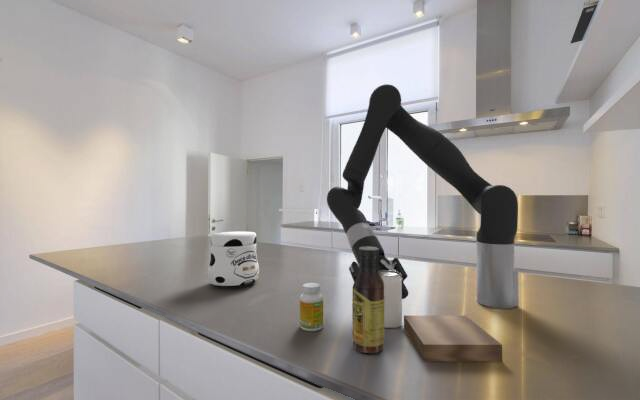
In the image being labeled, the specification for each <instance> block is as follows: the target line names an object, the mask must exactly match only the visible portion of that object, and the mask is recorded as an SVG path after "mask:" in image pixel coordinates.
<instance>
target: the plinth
mask: <svg viewBox="0 0 640 400" xmlns="http://www.w3.org/2000/svg"><path fill="white" fill-rule="evenodd" d="M403 330H404V332H405V333H406V334H407V336H408V337H409V339H410V342H412V344H413V346H414V347H415V349H416V351H417V352H418V354H419V355H420V357H421V359H422V360H423V362H491V361H501V362H502V363H503V344H502V343H500V341H499V340H497V339H496V338H495V337H493V336H492V335H491V334H490V333H488V332H487V331H486V330H484V328H482V327H481V326H480V325H478V324H477V323H476V322H474V321H473V320H472V319H471V318H470V317H469V316H467V315H403Z"/></svg>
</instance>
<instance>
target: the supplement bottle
mask: <svg viewBox="0 0 640 400" xmlns="http://www.w3.org/2000/svg"><path fill="white" fill-rule="evenodd" d="M320 291H321V284H320V283H316V282H306V283H303V284H302V292H303V293H301V295H300V297H299V326H300V330H301V329H302V330H303V331H306V332H317V331H320V330H321V329H323V327H324V296H323V294H322V293H320Z"/></svg>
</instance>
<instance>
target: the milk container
mask: <svg viewBox="0 0 640 400" xmlns="http://www.w3.org/2000/svg"><path fill="white" fill-rule="evenodd" d="M257 247H258V245H257V233H256V232H254V231H223V232H215V233H214V232H213V233H212V234H211V235H210V262H209V265H208V269H207V278H208V282H209V283H210V285H212V286H214V287H216V288H222V289H233V288H234V289H236V288H237V289H238V288H243V287H247V286H250V285H252V284H254V283H256V282H257V280H258V278H259V275H260V265H259V262H258V258H257Z"/></svg>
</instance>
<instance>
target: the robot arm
mask: <svg viewBox="0 0 640 400" xmlns="http://www.w3.org/2000/svg"><path fill="white" fill-rule="evenodd" d="M370 94H371V95H370V97H369V101H368V108H367V112H366V115H365V119H364V122H363V125H362V128H361V131H360V132H359V135H358V138H357V140H356V142H355V144H354V146H353V148H352V151H351V153H350V155H349V157H348V159H347V162H346V165H345V166H344V169H343V172H342V178H343V180H345V181H346V182H347V187H346V188H347V189H346V188H344V187H342V186H334V187H332V188H330V189H329V191H328V192H327V195H326V203H327V206H328V208H329V210H330V211H331V213H332V214H333V215H334V217H335V218H336V220H337V222H339V223H340V224H341V226H342V229H343V231H344V233H345V235H346V237H347V241H348V245H349V247H350V250H351V251H352V254H353V256H354V258H355V260H356V261H352V262H351V264H350V266H349V268H348V270H349V273H350V275H351V278H352V280H353V283H354V282H355V279H356V276H357V273H358V270H359V254H358V249H359V248H360V247H365V246H370V247H377V248H379V257H378V267H379V270H378V271H381V270H391V271H396V272H399V273H400V278H401V280H402V300H405V299H406V298H407V297H408V296H409V290H408V288H407V286H406V284H405V283H404V281H405V280H406V279H407V278H408V274H407V272H406V271H405V268H404V267H403V265H402V264H401V262H400V260H399V258H397V257H394V258H393V259H388V258H387V257H386V256H385V255H386V254H385V250H384V248H383V246H382V244H381V242H380V240H379V238H378V236H377V234H376V233H375V231H374V230H373V228H372V227H371V226H370V224H369V222H368V220H367V218H366V216H365V215H364V213H363V212H362V211H361V210H360V209H359V208H360V207H361V204H362V199H363V193H364V187H365V180H366V178H367V176H368V173H369V172H370V169H371V167H372V164H373V162H374V159H375V157H376V153H377V150H378V147H379V144H380V141H381V139H382V136H383V134H384V133H385V130H386V129H387V130H388V131H390V132H391V133H393V134H394V135H395V136H397V138H399V139H400V140H401V141H402V142H403V143H404V145H406V146H407V148H408V149H409V150H410V151H411V152H413V153H414V155H416V156H417V157H418V158H419V159H420V160H421V161H422V162H423V164H425V165H426V166H428V167H429V168H430V169H431V170H432V171H433V172H434V173H436V174H437V175H438V176H440V178H441V179H442V180H444V181H445V182H447V183H448V184H449V185H451V186H452V187H453V188H454V189H455V190H456V191H457V192H458V193H460V195H461V196H462V197H463V198H464V199H465V200H466V201H467V203H468V204H469V205H470V206H471V207H472V209H474V211H475V212H476V213H478V214H479V215H480V226H479V229H478V231H476V238H475V239H476V240H475V241H476V302H477V303H478V304H480V305H481V306H482V305H483V306H484V307H485V306H486V307H489V308H492V309H502V310H503V309H504V310H507V309H508V310H509V309H513V308H517V307H519V303H520V302H519V301H520V300H519V272H518V271H517V270H516V269H515V237H516V234H517V232H518V223H519V222H518V221H519V220H518V219H519V201H518V197H517V194H516V192H515V191H514V190H513V189H512V188H511V187H509V186H507V185H503V184H494V185H493V184H491V183H489V182H488V181H487V180H485V179H484V178H483V177H482V176H480V175H479V173H477V172H476V171H475V170H474V169H473V168H472V167H471V165H470V164H469V162H468V160H467V159H466V157H465V156H464V155H463V153H462V152H461V150H460V148H458V146H456V145H455V144H454V143H453V142H451V140H450V139H448V138H447V137H446V136H445V135H444V134H443V133H441V132H440V131H438V130H437V129H435V128H433V127H432V126H429V125H427V124H424V123H423V122H421V121H419V120H417V119H416V118H414V117H413V116H412V115H411V114H410V113H409V112H408V111H407V110H406V109H405V108H404V107H403V106H402V105H401V104H402V96H401V93H400V91H399V89H398V87H396V86H395V85H392V84H386V83H385V84H381V85H379V86H377V87H376V88H375V89H374V90H373V91H372V93H370Z"/></svg>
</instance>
